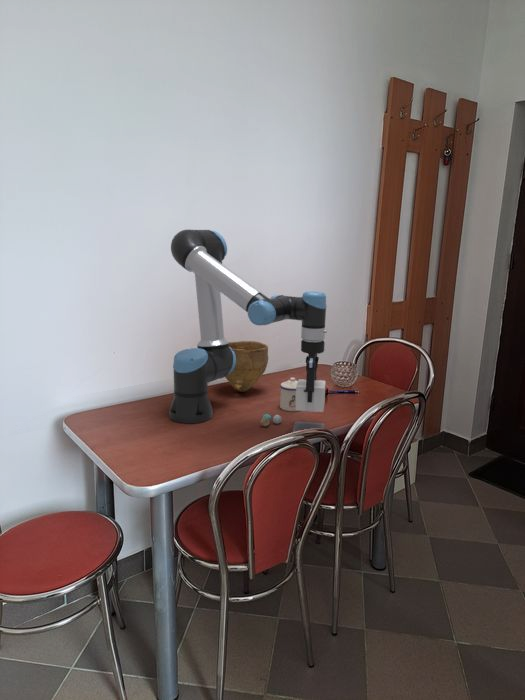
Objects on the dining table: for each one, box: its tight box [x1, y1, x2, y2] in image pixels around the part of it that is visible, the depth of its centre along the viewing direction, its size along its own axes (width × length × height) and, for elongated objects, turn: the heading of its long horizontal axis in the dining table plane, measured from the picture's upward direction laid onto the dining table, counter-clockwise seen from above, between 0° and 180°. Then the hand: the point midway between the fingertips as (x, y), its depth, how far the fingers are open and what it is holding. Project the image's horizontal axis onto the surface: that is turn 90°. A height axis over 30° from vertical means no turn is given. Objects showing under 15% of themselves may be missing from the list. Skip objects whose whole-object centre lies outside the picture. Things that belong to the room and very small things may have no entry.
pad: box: [292, 420, 325, 433], centre depth 170 cm, size 10×10×1 cm
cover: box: [296, 378, 326, 413], centre depth 167 cm, size 9×9×8 cm
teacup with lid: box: [279, 377, 299, 412], centre depth 190 cm, size 12×9×12 cm
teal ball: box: [262, 413, 272, 422], centre depth 175 cm, size 3×3×3 cm
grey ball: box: [272, 414, 282, 424], centre depth 174 cm, size 3×3×3 cm
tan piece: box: [224, 340, 269, 393], centre depth 206 cm, size 21×20×20 cm
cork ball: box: [260, 417, 271, 427], centre depth 171 cm, size 3×3×3 cm
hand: (310, 406), depth 168 cm, fingers closed on cover, 9 cm apart
